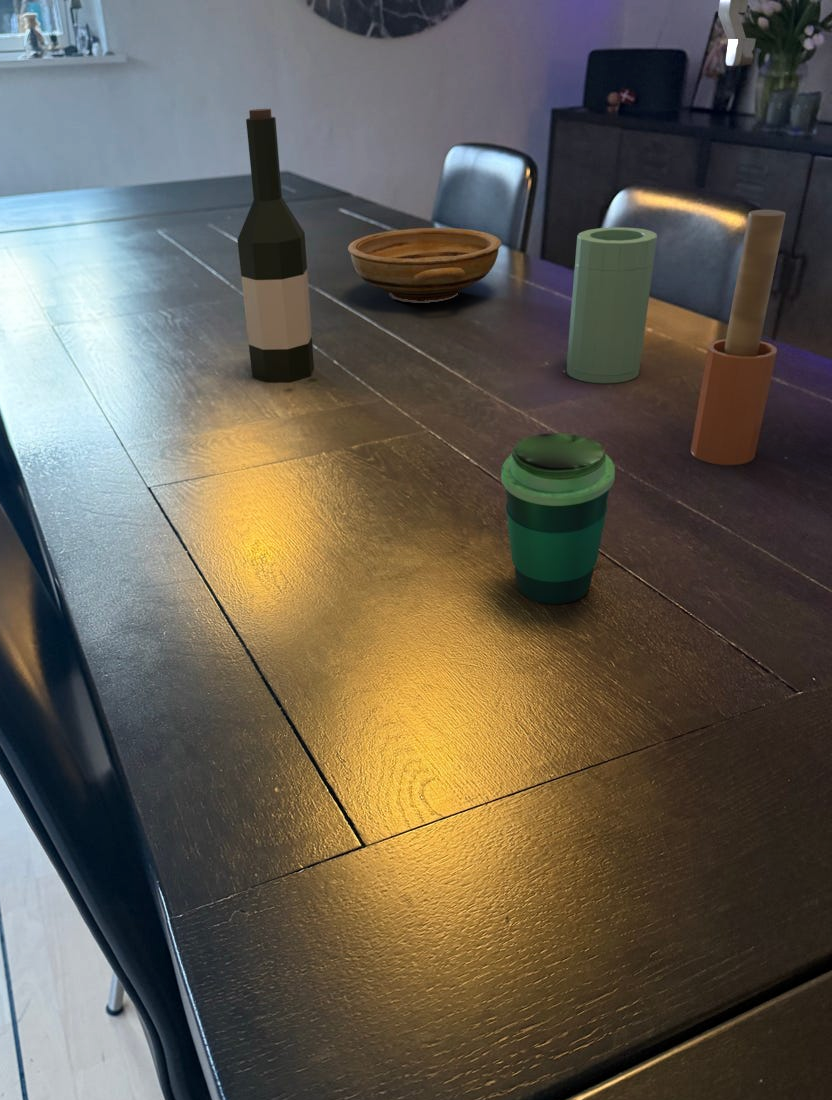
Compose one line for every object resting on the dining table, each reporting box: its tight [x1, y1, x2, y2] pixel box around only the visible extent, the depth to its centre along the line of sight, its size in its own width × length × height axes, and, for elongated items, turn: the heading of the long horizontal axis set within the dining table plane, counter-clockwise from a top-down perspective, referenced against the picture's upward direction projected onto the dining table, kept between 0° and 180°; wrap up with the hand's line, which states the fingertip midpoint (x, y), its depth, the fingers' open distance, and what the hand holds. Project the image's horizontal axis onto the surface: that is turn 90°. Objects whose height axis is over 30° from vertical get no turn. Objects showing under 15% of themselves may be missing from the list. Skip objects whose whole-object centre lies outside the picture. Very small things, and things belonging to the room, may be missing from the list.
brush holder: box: [690, 338, 778, 466], centre depth 90 cm, size 6×6×11 cm
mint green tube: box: [566, 226, 658, 384], centre depth 111 cm, size 9×9×16 cm
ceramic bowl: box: [347, 227, 502, 301], centre depth 149 cm, size 30×24×8 cm
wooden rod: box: [724, 209, 787, 356], centre depth 86 cm, size 4×4×22 cm
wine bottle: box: [237, 108, 315, 383], centre depth 113 cm, size 8×8×30 cm
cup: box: [500, 432, 616, 605], centre depth 70 cm, size 8×8×12 cm
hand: (796, 61), depth 74 cm, fingers open, 8 cm apart
